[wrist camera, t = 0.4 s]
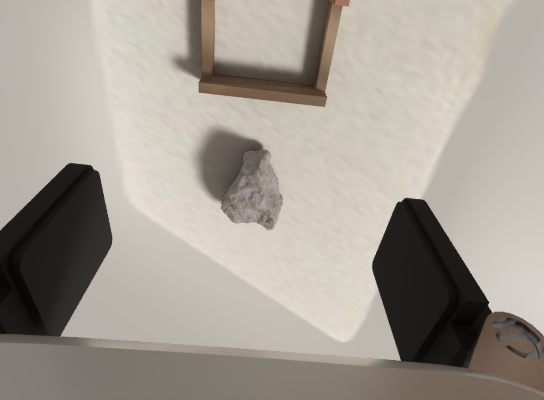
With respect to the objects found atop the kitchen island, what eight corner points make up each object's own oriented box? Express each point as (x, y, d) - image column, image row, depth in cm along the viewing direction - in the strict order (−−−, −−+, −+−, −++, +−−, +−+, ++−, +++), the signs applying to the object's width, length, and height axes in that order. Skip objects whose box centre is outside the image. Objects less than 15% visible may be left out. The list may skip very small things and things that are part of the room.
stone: (223, 209, 47) (219, 239, 42) (215, 146, 41) (209, 173, 36) (282, 208, 47) (284, 237, 42) (282, 145, 41) (284, 171, 36)
